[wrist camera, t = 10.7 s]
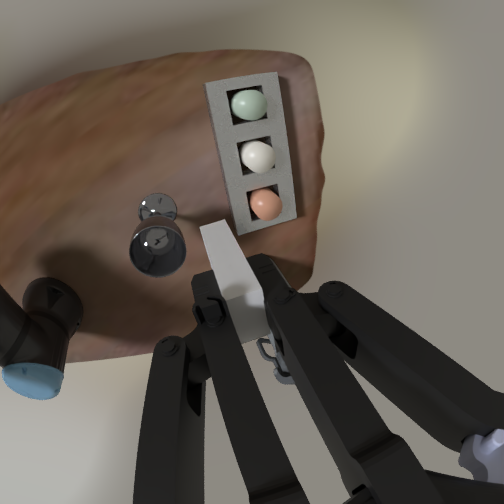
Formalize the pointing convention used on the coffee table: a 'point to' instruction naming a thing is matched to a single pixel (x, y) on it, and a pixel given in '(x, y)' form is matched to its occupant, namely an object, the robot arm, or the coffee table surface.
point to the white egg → (257, 156)
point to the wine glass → (157, 238)
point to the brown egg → (265, 203)
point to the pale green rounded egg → (248, 104)
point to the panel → (246, 130)
